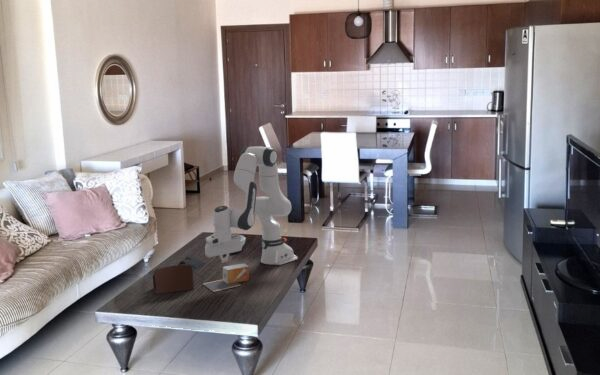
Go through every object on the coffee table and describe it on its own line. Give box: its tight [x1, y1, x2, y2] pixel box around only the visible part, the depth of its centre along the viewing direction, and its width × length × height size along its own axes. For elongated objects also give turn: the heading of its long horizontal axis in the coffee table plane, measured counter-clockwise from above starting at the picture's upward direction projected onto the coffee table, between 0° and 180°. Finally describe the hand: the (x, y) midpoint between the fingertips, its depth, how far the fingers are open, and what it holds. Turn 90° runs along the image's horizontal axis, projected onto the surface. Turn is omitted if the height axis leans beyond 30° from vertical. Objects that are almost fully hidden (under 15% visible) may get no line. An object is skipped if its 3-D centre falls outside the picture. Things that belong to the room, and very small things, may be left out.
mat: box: [202, 278, 242, 293], centre depth 313 cm, size 16×14×1 cm
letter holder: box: [152, 264, 195, 295], centre depth 309 cm, size 10×20×14 cm, turn 110°
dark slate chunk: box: [177, 255, 205, 274], centre depth 342 cm, size 15×22×5 cm
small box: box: [222, 262, 250, 284], centre depth 318 cm, size 8×6×13 cm
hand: (224, 261), depth 312 cm, fingers closed
